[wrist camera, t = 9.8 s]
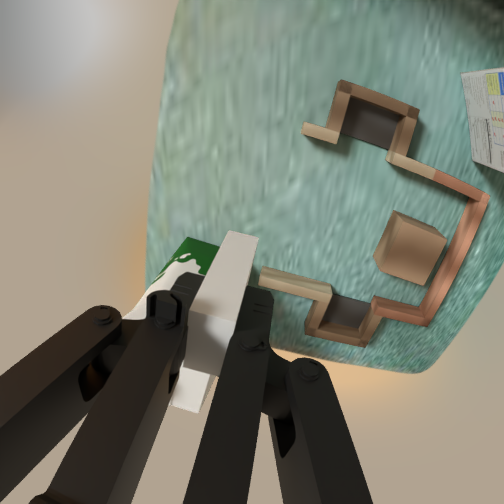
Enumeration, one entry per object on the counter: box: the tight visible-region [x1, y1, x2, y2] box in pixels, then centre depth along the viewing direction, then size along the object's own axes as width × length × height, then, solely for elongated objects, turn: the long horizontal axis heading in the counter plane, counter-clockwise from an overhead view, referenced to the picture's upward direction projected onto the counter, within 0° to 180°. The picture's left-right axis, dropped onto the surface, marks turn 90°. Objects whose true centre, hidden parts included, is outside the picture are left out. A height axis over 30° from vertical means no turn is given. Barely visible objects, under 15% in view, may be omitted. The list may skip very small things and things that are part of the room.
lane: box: [258, 122, 490, 327], centre depth 34 cm, size 18×23×2 cm
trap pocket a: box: [325, 80, 420, 157], centre depth 29 cm, size 5×8×2 cm, turn 76°
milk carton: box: [122, 237, 220, 413], centre depth 31 cm, size 9×9×20 cm
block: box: [373, 210, 447, 286], centre depth 34 cm, size 6×6×4 cm
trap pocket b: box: [305, 294, 382, 348], centre depth 39 cm, size 5×8×2 cm, turn 76°
